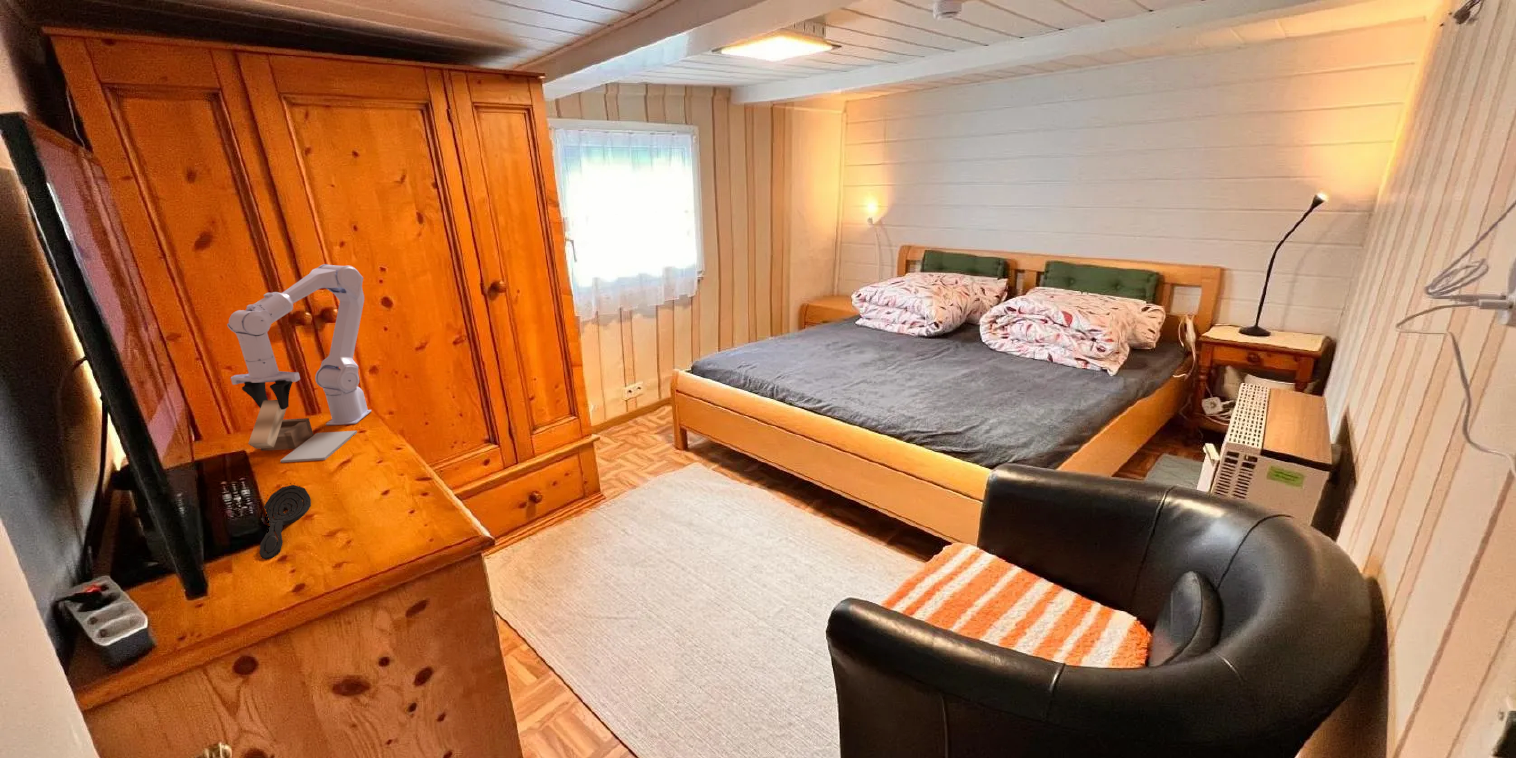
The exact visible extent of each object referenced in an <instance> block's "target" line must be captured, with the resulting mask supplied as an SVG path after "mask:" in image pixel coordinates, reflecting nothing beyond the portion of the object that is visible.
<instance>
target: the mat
mask: <svg viewBox="0 0 1516 758" xmlns="http://www.w3.org/2000/svg"><path fill="white" fill-rule="evenodd" d="M357 433H358V431H357V430H346V431H344V430H343V431H328V432H327V431H326V432H317V433H315V434H313V436H312V437H310V438H309V439H308V440H306V441H305V442H304V443H302V444H301V445H300V446H298V447H297V448H296V449H292V451H291V452H290V453H288V454H286V455H285V456H284V457H283V458H282V459H280V463H282V464H283V463H293V462H294V463H296V462H297V463H299V462H309V461H311V462H312V461H313V462H314V461H326V460H327V459H328V458H329V457H331V456H332V455H333V454H334V453H335V452H337V451H338V450H339V449H340V448H341V447H342V446H343V445H344V444H346V443H347V442H348V441H350V439H351V437H352V436H353V435H354V436H355V435H356V434H357ZM354 436H353V437H354ZM353 437H352V438H353Z"/></svg>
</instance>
